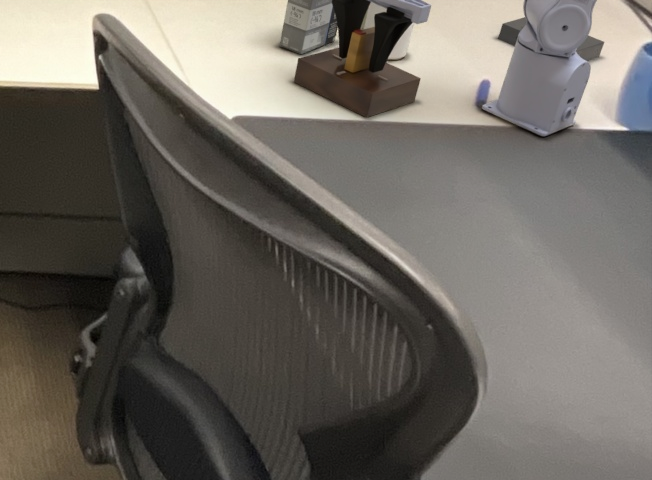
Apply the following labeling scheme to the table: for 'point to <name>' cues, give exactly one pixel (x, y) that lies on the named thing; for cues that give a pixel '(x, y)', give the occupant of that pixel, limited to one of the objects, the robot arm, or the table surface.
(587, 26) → the robot arm
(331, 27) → the tape cartridge
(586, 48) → the dark grey rectangular block
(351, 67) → the thumbturn
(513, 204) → the table surface
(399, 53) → the can
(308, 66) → the plate
